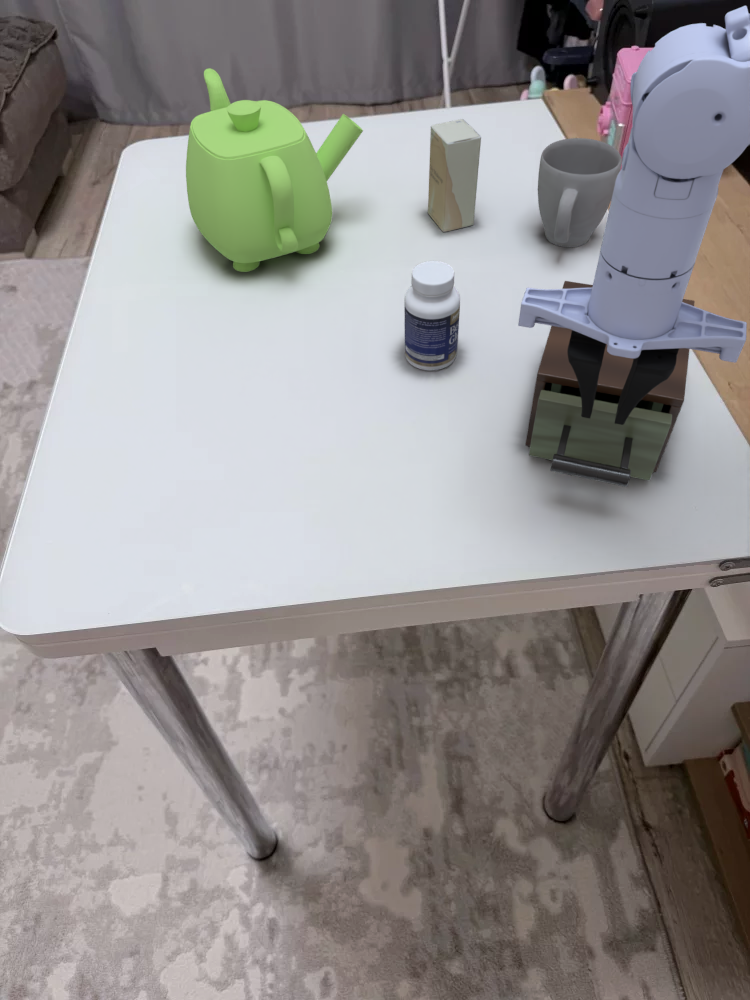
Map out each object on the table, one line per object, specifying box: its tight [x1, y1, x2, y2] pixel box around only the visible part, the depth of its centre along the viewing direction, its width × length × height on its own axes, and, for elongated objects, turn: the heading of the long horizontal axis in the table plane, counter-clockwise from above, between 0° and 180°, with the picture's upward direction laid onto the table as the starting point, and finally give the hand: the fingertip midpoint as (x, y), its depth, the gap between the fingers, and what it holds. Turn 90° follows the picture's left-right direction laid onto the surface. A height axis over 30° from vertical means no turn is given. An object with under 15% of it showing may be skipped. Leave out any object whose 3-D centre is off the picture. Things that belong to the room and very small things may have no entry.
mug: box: [537, 137, 622, 248], centre depth 85 cm, size 12×9×10 cm
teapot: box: [185, 67, 364, 273], centre depth 87 cm, size 25×22×16 cm
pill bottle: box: [403, 260, 461, 371], centre depth 72 cm, size 5×5×10 cm
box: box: [427, 118, 482, 233], centre depth 88 cm, size 5×4×11 cm
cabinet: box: [524, 280, 695, 473], centre depth 67 cm, size 14×12×9 cm
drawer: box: [528, 383, 672, 488], centre depth 64 cm, size 17×10×7 cm, turn 161°
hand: (603, 412), depth 57 cm, fingers closed
